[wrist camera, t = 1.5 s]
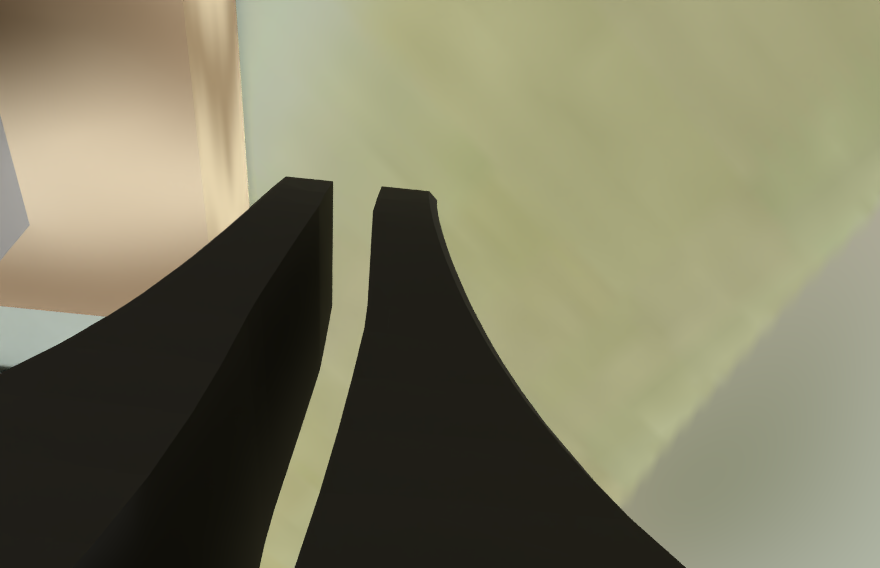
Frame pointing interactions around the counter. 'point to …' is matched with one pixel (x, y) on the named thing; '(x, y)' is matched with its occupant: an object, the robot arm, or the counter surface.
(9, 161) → the slate tile
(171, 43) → the birch deck
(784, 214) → the counter surface
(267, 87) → the counter surface
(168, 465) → the robot arm
